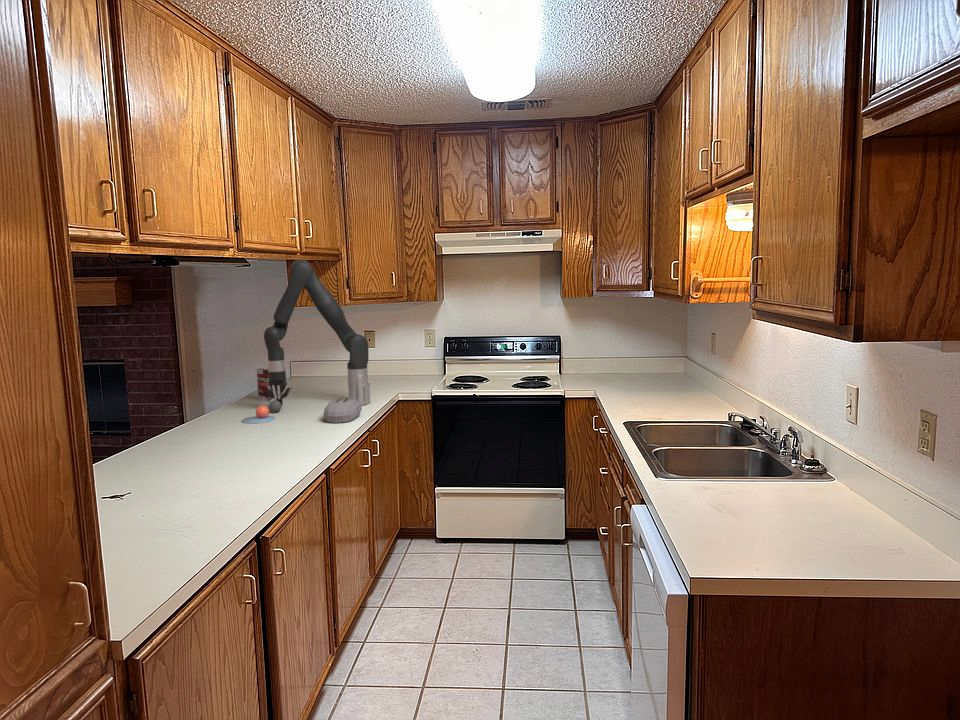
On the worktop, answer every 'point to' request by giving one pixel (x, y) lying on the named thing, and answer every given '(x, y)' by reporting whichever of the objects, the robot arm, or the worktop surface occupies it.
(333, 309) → the robot arm
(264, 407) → the red ball
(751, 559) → the worktop surface
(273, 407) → the grey smooth round ball
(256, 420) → the blue flat disc
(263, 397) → the supplement box
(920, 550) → the worktop surface
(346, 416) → the soft grey pack
